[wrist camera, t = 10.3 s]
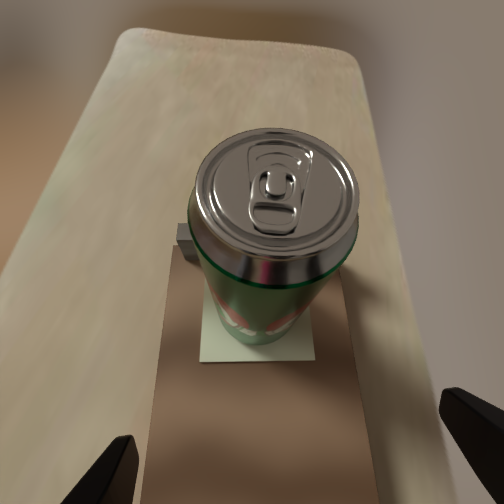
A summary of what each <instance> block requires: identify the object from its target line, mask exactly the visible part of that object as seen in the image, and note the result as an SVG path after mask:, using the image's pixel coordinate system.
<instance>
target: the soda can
mask: <svg viewBox="0 0 504 504" xmlns="http://www.w3.org/2000/svg"><path fill="white" fill-rule="evenodd" d="M358 207H359V188H358V183H357V180H356V177H355V175H354V172H353V171H352V169H351V167H350V166H349V164H348V163H347V162H346V160H345V159H344V158H343V157H342V156H341V155H340V154H339V153H338V152H337V151H336V150H335V149H334V148H332V147H331V146H329V145H328V144H326V143H325V142H323V141H321V140H319V139H318V138H316V137H314V136H311V135H308V134H306V133H303V132H299V131H295V130H290V129H283V128H260V129H254V130H248V131H245V132H242V133H239V134H236V135H234V136H232V137H229V138H227V139H226V140H224V141H223V142H221V143H219V144H218V145H217V146H216V147H215V148H214V149H212V150H211V151H210V152H209V154H208V155H207V156H206V157H205V158H204V160H203V162H202V164H201V165H200V167H199V170H198V173H197V176H196V181H195V186H194V188H193V190H192V193H191V196H190V199H189V203H188V210H187V216H188V226H189V230H190V234H191V237H192V240H193V243H194V246H195V249H196V252H197V255H198V258H199V260H200V263H201V266H202V269H203V272H204V275H205V278H206V281H207V284H208V287H209V289H210V292H211V295H212V298H213V301H214V304H215V307H216V310H217V313H218V315H219V318H220V321H221V323H222V325H223V326H224V328H225V330H226V331H227V332H228V333H229V334H230V335H231V336H232V337H234V338H235V339H237V340H239V341H240V342H243V343H246V344H250V345H266V344H270V343H273V342H275V341H277V340H279V339H280V338H281V337H283V336H284V335H285V334H286V333H287V332H288V331H289V330H290V328H291V327H292V326H293V325H294V323H295V322H296V321H297V320H298V318H299V317H300V316H301V315H302V313H303V312H304V311H305V310H306V308H307V307H308V306H309V305H310V303H311V302H312V301H313V300H314V298H315V297H316V296H317V295H318V294H319V292H320V291H321V290H322V289H323V287H324V286H325V285H326V284H327V282H328V281H329V280H330V279H331V277H332V276H333V275H334V274H335V272H336V271H337V270H338V269H339V267H340V266H341V265H342V264H343V262H344V261H345V260H346V258H347V257H348V255H349V254H350V252H351V251H352V249H353V246H354V244H355V241H356V238H357V233H358V228H359V216H358Z"/></svg>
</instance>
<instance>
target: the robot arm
mask: <svg viewBox="0 0 504 504" xmlns="http://www.w3.org/2000/svg"><path fill="white" fill-rule="evenodd" d="M439 414H440V417H441V419H442V420H443V422H444V424H445V425H446V427H447V429H448V430H449V432H450V433H451V435H452V436H453V438H454V440H455V441H456V443H457V444H458V446H459V448H460V449H461V451H462V453H463V454H464V456H465V458H466V459H467V461H468V463H469V464H470V466H471V467H472V469H473V470H474V472H475V474H476V475H477V477H478V478H479V480H480V481H481V482H482V484H483V485H484V487H485V488H486V490H487V491H488V492H489V494H490V495H491V496H492V498H493V499H494V500H495V502H496V503H497V504H504V411H503V410H501V409H500V408H497V407H496V406H494V405H492V404H490V403H488V402H486V401H484V400H482V399H480V398H478V397H476V396H474V395H472V394H471V393H469V392H467V391H465V390H463V389H461V388H458V387H453V388H446V389H444V390H443V391H442V394H441V400H440V405H439ZM138 466H139V455H138V451H137V448H136V444H135V440H134V437H133V436H132V435H125V436H119V437H116V438H115V439H114V440H113V441H112V442H111V444H110V445H109V446H108V447H107V448H106V450H105V451H104V452H103V453H102V454H101V456H100V457H99V458H98V459H97V460H96V461H95V463H94V464H93V465H92V466H91V467H90V469H89V470H88V471H87V472H86V473H85V475H84V476H83V477H82V478H81V479H80V481H79V482H78V483H77V484H76V485H75V487H74V488H73V489H72V490H71V491H70V493H69V494H68V495H67V496H66V497H65V499H64V500H63V501H62V502H61V503H60V504H132V502H133V496H134V490H135V484H136V478H137V472H138Z"/></svg>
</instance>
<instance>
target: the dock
mask: <svg viewBox="0 0 504 504" xmlns="http://www.w3.org/2000/svg"><path fill="white" fill-rule="evenodd" d="M176 241H177V243H178V245H173V252H172V259H171V267H170V275H169V283H168V290H167V298H166V306H165V314H164V321H163V329H162V337H161V345H160V352H159V360H158V368H157V376H156V383H155V391H154V399H153V407H152V414H151V422H150V430H149V438H148V445H147V453H146V461H145V469H144V476H143V484H142V492H141V500H140V504H380V502H379V497H378V491H377V485H376V479H375V474H374V468H373V462H372V456H371V451H370V445H369V439H368V434H367V428H366V422H365V416H364V411H363V405H362V399H361V393H360V388H359V382H358V376H357V370H356V365H355V359H354V353H353V347H352V342H351V336H350V330H349V324H348V319H347V313H346V307H345V301H344V296H343V290H342V284H341V278H340V273H339V269H338V270H337V271H336V272H335V274H334V275H333V276H332V277H331V279H330V280H329V281H328V282H327V284H326V285H325V286H324V287H323V289H322V290H321V291H320V292H319V294H318V295H317V296H316V297H315V298H314V300H313V301H312V302H311V303H310V305H309V306H308V307H307V308H306V310H305V311H304V312H303V313H302V315H301V316H300V317H299V318H298V320H297V321H296V322H295V323H294V325H293V326H292V327H291V328H290V330H289V331H288V332H287V333H286V334H285V335H284V336H283V337H281V338H280V339H279V340H277V341H275V342H273V343H270V344H266V345H250V344H246V343H243V342H240V341H239V340H237V339H235V338H234V337H232V336H231V335H230V334H229V333H228V332H227V331H226V330H225V328H224V326H223V325H222V323H221V321H220V318H219V315H218V313H217V310H216V307H215V304H214V301H213V298H212V295H211V292H210V289H209V287H208V284H207V281H206V278H205V275H204V272H203V269H202V266H201V263H200V260H199V258H198V255H197V252H196V249H195V246H194V243H193V240H192V237H191V234H190V230H189V226H188V223H178V229H177V237H176Z"/></svg>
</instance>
